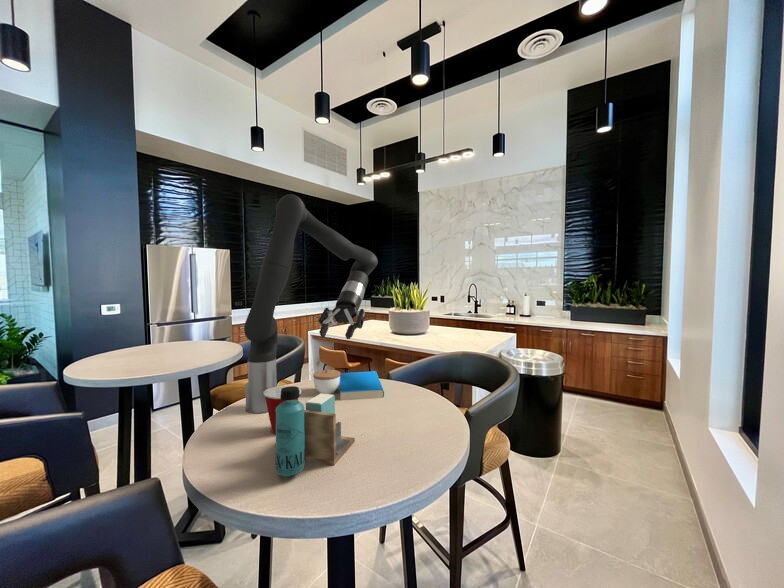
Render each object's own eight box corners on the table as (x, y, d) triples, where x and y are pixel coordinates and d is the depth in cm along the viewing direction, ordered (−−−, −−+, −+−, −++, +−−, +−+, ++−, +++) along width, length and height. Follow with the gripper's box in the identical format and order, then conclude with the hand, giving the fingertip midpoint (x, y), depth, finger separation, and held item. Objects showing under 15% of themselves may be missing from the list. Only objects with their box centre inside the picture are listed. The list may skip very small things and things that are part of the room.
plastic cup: (304, 434, 92) (303, 393, 91) (263, 441, 88) (262, 398, 87) (300, 420, 102) (299, 382, 101) (264, 425, 98) (263, 387, 98)
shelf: (277, 455, 81) (276, 408, 80) (304, 433, 92) (303, 393, 92) (334, 465, 76) (333, 415, 76) (354, 441, 87) (354, 398, 87)
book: (339, 391, 119) (339, 372, 143) (339, 402, 119) (339, 381, 144) (384, 388, 122) (377, 370, 146) (385, 399, 122) (377, 379, 146)
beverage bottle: (279, 467, 75) (278, 383, 75) (308, 465, 76) (307, 382, 75) (271, 484, 69) (270, 393, 68) (303, 482, 69) (301, 392, 69)
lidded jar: (345, 389, 131) (345, 367, 131) (330, 398, 121) (330, 374, 121) (324, 386, 135) (323, 364, 135) (307, 394, 125) (307, 371, 125)
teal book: (306, 449, 82) (305, 402, 81) (320, 436, 88) (320, 393, 88) (321, 451, 80) (321, 403, 80) (335, 438, 87) (334, 394, 87)
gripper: (328, 289, 106) (308, 328, 95) (367, 289, 101) (352, 330, 91) (335, 304, 111) (318, 342, 100) (373, 305, 106) (359, 345, 96)
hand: (334, 336), depth 95 cm, fingers open, 8 cm apart
